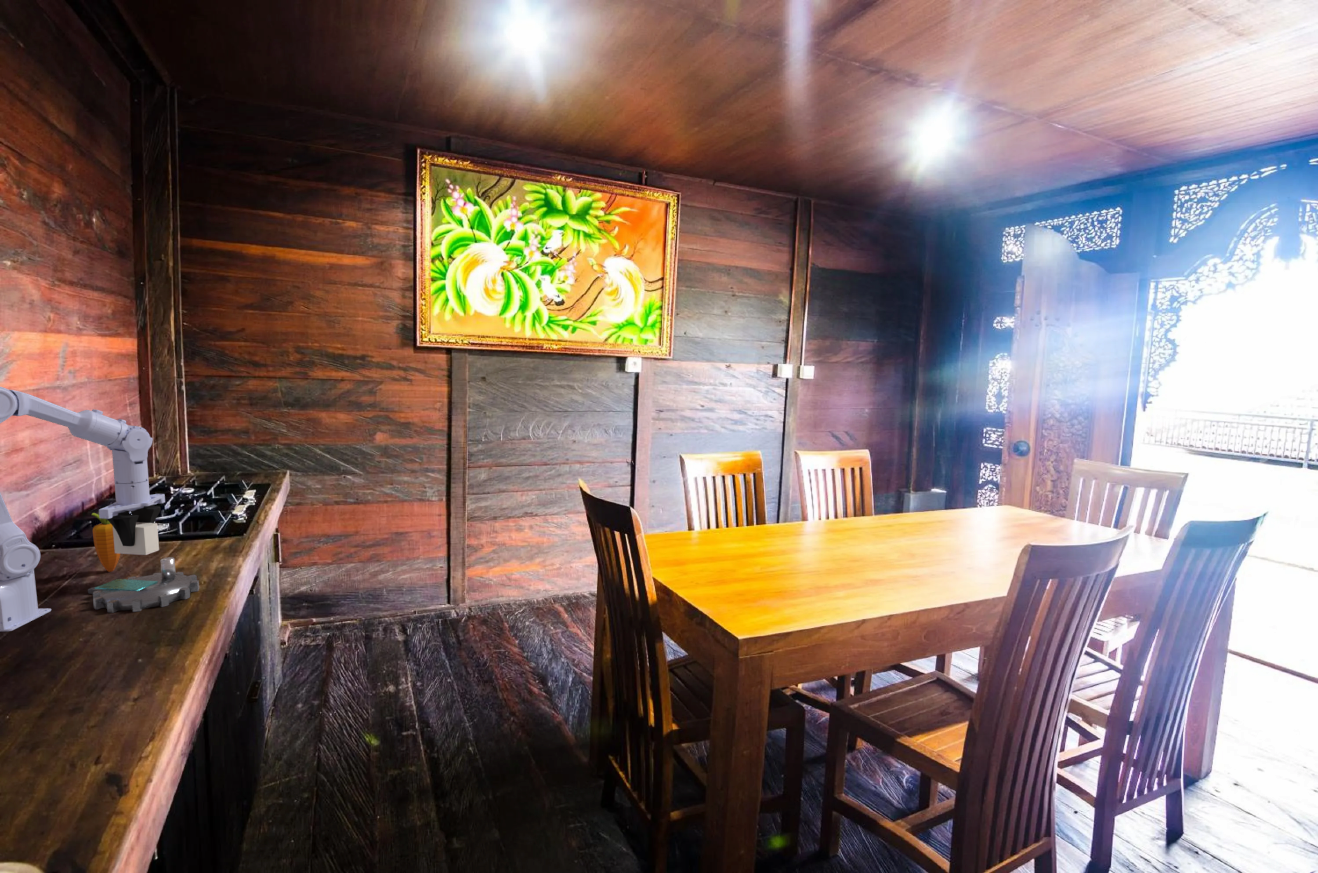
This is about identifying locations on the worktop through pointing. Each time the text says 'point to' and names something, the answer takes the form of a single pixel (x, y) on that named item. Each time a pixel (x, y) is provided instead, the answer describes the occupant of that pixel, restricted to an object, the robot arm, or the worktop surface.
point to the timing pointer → (90, 591)
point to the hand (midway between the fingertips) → (136, 542)
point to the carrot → (105, 544)
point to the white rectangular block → (139, 540)
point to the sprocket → (146, 590)
